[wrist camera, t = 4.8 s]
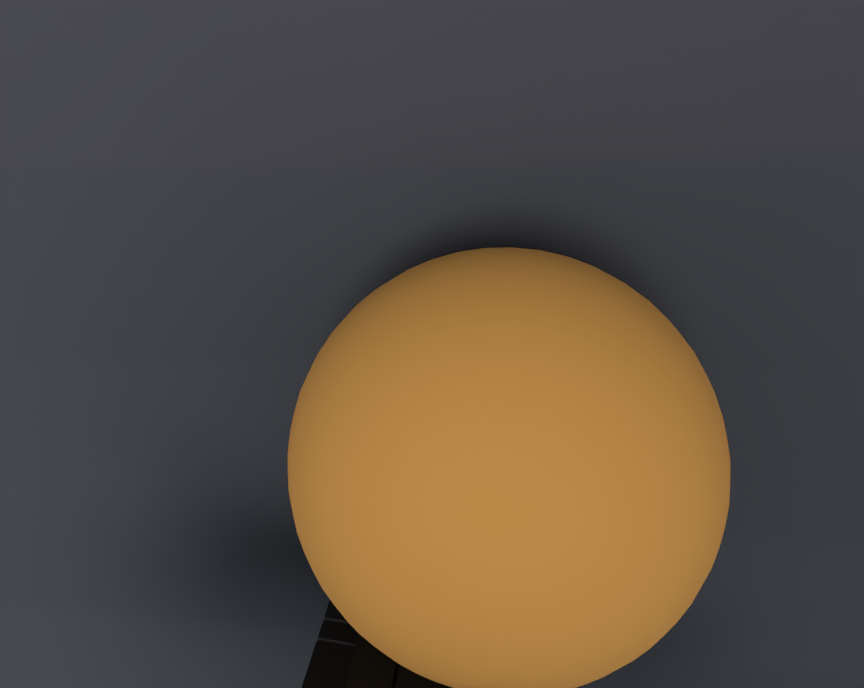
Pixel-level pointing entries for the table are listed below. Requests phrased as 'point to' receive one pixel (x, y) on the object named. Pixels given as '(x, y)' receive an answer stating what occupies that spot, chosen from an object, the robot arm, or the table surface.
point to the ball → (509, 470)
